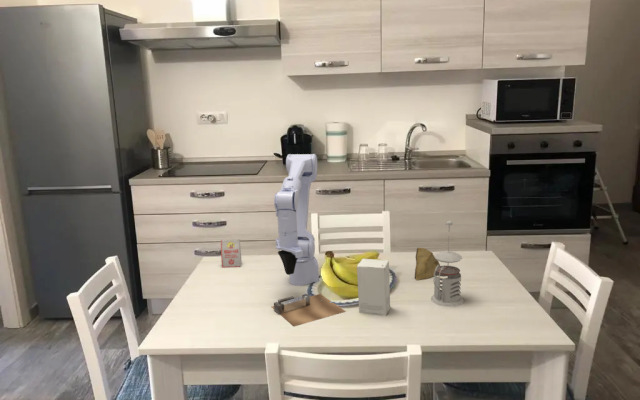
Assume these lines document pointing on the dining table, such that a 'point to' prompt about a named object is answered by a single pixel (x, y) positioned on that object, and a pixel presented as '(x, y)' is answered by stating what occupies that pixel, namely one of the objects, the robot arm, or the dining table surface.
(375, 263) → the skincare box
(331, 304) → the lock board
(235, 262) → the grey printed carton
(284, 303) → the swing bar
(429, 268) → the rock
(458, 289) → the french press
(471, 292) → the dining table surface
